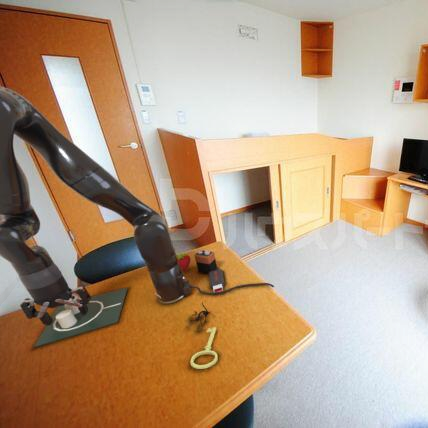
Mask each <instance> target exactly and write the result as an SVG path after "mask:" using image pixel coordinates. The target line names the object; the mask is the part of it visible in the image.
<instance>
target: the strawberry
mask: <svg viewBox="0 0 428 428" xmlns="http://www.w3.org/2000/svg"><path fill="white" fill-rule="evenodd" d="M178 253H179V254H176V256H177V259H178V262H179V266H180V268H181V269H182V272H187V271H188V269H189V268H190V264H191V257H190V255H189V254H187V253H186V252H183V253H181V252H179V251H178Z"/></svg>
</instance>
